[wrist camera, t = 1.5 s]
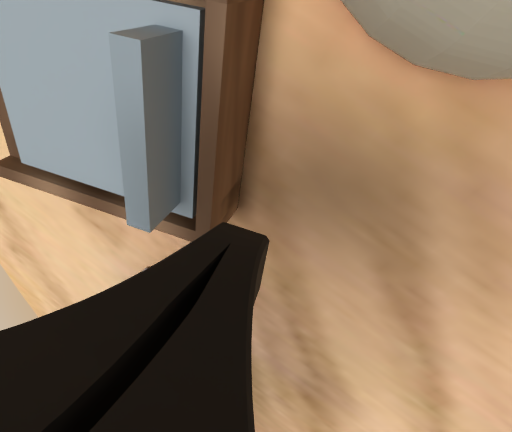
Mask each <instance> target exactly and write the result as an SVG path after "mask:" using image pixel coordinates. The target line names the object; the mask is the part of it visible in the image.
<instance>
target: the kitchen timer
mask: <svg viewBox="0 0 512 432" xmlns="http://www.w3.org/2000/svg"><path fill="white" fill-rule="evenodd" d="M341 1H342V3H343V4H344V5H345V6H346V8H347V9H348V10H349V11H350V13H351V14H352V15H353V16H354V18H355V19H356V20H357V21H358V23H359V24H360V25H361V26H362V28H363V29H364V30H365V31H366V33H367V34H368V35H369V36H370V37H372V38H373V39H375V40H376V41H378V42H379V43H381V44H382V45H384V46H386V47H387V48H389V49H390V50H392V51H393V52H395V53H396V54H398V55H400V56H401V57H403V58H404V59H406V60H407V61H409V62H410V63H412V64H414V65H417V66H421V67H425V68H428V69H432V70H436V71H440V72H444V73H448V74H452V75H456V76H460V77H464V78H467V79H473V80H482V79H512V0H341Z"/></svg>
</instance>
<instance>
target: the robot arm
mask: <svg viewBox="0 0 512 432" xmlns="http://www.w3.org/2000/svg"><path fill="white" fill-rule="evenodd" d="M268 245H269V239H268V238H267V236H265V235H262V234H259V233H256V232H253V231H250V230H247V229H244V228H241V227H238V226H234V225H231V224H228V223H225V222H222V223H220V224H218V225H217V226H215V227H214V228H212V229H211V230H209V231H208V232H206V233H205V234H203V235H202V236H200V237H199V238H197V239H196V240H194V241H192V242H191V243H189V244H188V245H186V246H185V247H183V248H181V249H180V250H178V251H176V252H175V253H173V254H172V255H170V256H168V257H167V258H165V259H163V260H162V261H160V262H158V263H156V264H155V265H153V266H151V267H149V268H145V269H144V270H143V271H142V272H140V273H138V274H136V275H134V276H133V277H131V278H129V279H127V280H125V281H123V282H121V283H119V284H117V285H115V286H113V287H111V288H109V289H107V290H105V291H103V292H100V293H98V294H96V295H94V296H91V297H89V298H87V299H85V300H82V301H80V302H78V303H75V304H73V305H70V306H68V307H65V308H63V309H60V310H57V311H55V312H52V313H50V314H47V315H44V316H42V317H39V318H36V319H34V320H31V321H29V322H26V323H23V324H20V325H17V326H14V327H11V328H8V329H5V330H1V331H0V432H255V428H254V414H253V400H252V373H251V338H252V316H253V306H254V302H255V299H256V297H257V294H258V291H259V288H260V284H261V279H262V274H263V269H264V264H265V259H266V255H267V250H268Z"/></svg>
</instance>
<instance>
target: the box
mask: <svg viewBox="0 0 512 432" xmlns="http://www.w3.org/2000/svg"><path fill="white" fill-rule="evenodd" d="M169 1H174V2H179V3H184V4H189V5H193V6H198V7H203V8H205V30H204V53H203V75H202V97H201V120H200V142H199V164H198V187H197V209H196V215H195V216H194V217H193V219H192V218H188V217H185V216H182V215H179V214H176V213H173V212H170V213H169V214H168V215H167V216H166V217H165V218H164V219H163V220H162V221H161V222H160V223H159V224H158V225H157V226H156V227H155V228H154V229H156V230H159V231H161V232H164V233H167V234H170V235H173V236H176V237H179V238H182V239H185V240H188V241H191V242H192V241H194V240H196V239H197V238H199V237H200V236H202V235H203V234H205V233H206V232H208V231H209V230H211V229H212V228H214V227H215V226H217V225H218V224H220V223H222V222H225V223H227V222H228V220H229V219H230V218H231V216H232V215H233V213H234V212H235V211H236V209H237V208H238V201H239V193H240V185H241V178H242V170H243V162H244V154H245V146H246V138H247V130H248V122H249V115H250V107H251V99H252V91H253V83H254V75H255V67H256V60H257V52H258V44H259V36H260V28H261V20H262V12H263V4H264V0H169ZM0 122H1V126H2V129H3V133H4V136H5V139H6V143H7V146H8V149H9V153H10V156H8V157H6V158H4V159H2V160H0V177H3V178H6V179H9V180H12V181H15V182H18V183H21V184H24V185H27V186H30V187H32V188H35V189H38V190H41V191H44V192H47V193H50V194H53V195H56V196H59V197H62V198H65V199H68V200H71V201H74V202H76V203H79V204H82V205H85V206H88V207H91V208H94V209H97V210H100V211H103V212H106V213H109V214H112V215H115V216H118V217H120V218H123V219H126V209H125V199H124V196H121V195H118V194H115V193H112V192H109V191H106V190H103V189H100V188H97V187H94V186H91V185H88V184H85V183H82V182H79V181H76V180H72V179H69V178H66V177H63V176H60V175H57V174H54V173H51V172H48V171H45V170H42V169H39V168H36V167H33V166H30V165H27V164H24V163H21V159H20V156H19V152H18V148H17V145H16V141H15V138H14V134H13V131H12V127H11V123H10V120H9V116H8V113H7V109H6V106H5V102H4V98H3V95H2V91H1V88H0ZM126 220H127V219H126Z"/></svg>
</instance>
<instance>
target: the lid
mask: <svg viewBox="0 0 512 432" xmlns="http://www.w3.org/2000/svg"><path fill="white" fill-rule="evenodd" d="M204 30H205V8H203V7H198V6H193V5H189V4H184V3H179V2H174V1H169V0H0V88H1V91H2V95H3V98H4V102H5V106H6V109H7V113H8V116H9V120H10V123H11V127H12V131H13V134H14V138H15V141H16V145H17V148H18V152H19V156H20V159H21V163H24V164H27V165H30V166H33V167H36V168H39V169H42V170H45V171H48V172H51V173H54V174H57V175H60V176H63V177H66V178H69V179H72V180H76V181H79V182H82V183H85V184H88V185H91V186H94V187H97V188H100V189H103V190H106V191H109V192H112V193H115V194H118V195H121V196H124V199H125V209H126V219H127V225H129V226H132V227H135V228H138V229H141V230H144V231H147V232H149V233H150V232H151V231H152V230H153V229H154V228H155V227H156V226H157V225H158V224H159V223H160V222H161V221H162V220H163V219H164V218H165V217H166V216H167V215H168V214H169V213H170V212H173V213H176V214H179V215H182V216H185V217H188V218H192V219H193V217H194V216H195V215H196V209H197V187H198V164H199V142H200V120H201V97H202V75H203V53H204Z"/></svg>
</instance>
